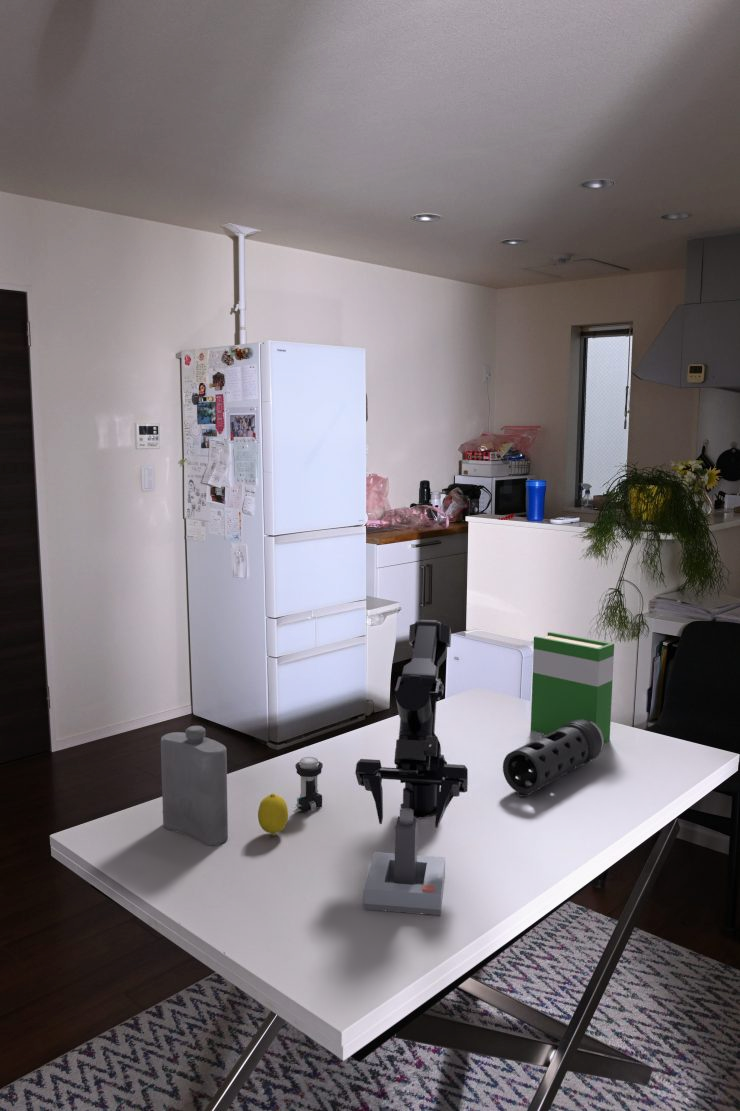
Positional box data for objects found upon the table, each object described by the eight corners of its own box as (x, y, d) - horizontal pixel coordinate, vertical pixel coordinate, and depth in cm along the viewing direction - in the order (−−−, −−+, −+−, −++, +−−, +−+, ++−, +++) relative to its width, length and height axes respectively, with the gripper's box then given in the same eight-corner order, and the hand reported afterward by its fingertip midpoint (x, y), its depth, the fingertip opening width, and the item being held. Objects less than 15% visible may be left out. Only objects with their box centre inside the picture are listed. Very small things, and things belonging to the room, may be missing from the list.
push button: (301, 818, 169) (300, 769, 167) (284, 809, 173) (284, 761, 171) (328, 809, 173) (328, 760, 172) (311, 800, 177) (311, 753, 176)
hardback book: (530, 730, 219) (533, 636, 216) (546, 723, 225) (549, 631, 221) (594, 748, 207) (599, 649, 204) (609, 740, 213) (614, 643, 209)
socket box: (374, 871, 149) (374, 849, 148) (444, 876, 147) (445, 855, 147) (363, 909, 137) (364, 886, 137) (440, 915, 136) (441, 892, 135)
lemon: (275, 844, 158) (275, 802, 157) (252, 836, 161) (251, 795, 160) (294, 832, 163) (294, 791, 162) (270, 825, 166) (270, 785, 165)
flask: (236, 836, 161) (235, 732, 158) (213, 849, 157) (211, 741, 154) (181, 815, 170) (178, 716, 167) (157, 826, 165) (154, 724, 162)
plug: (397, 879, 145) (398, 804, 143) (416, 880, 144) (417, 805, 142) (394, 893, 140) (395, 816, 138) (414, 894, 140) (415, 817, 138)
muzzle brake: (500, 792, 182) (501, 744, 181) (567, 755, 203) (569, 712, 201) (540, 805, 176) (542, 756, 175) (605, 766, 197) (607, 721, 195)
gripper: (357, 713, 148) (346, 803, 138) (468, 719, 145) (465, 811, 136) (363, 741, 157) (354, 827, 147) (469, 747, 154) (465, 835, 145)
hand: (408, 825), depth 144 cm, fingers open, 9 cm apart
